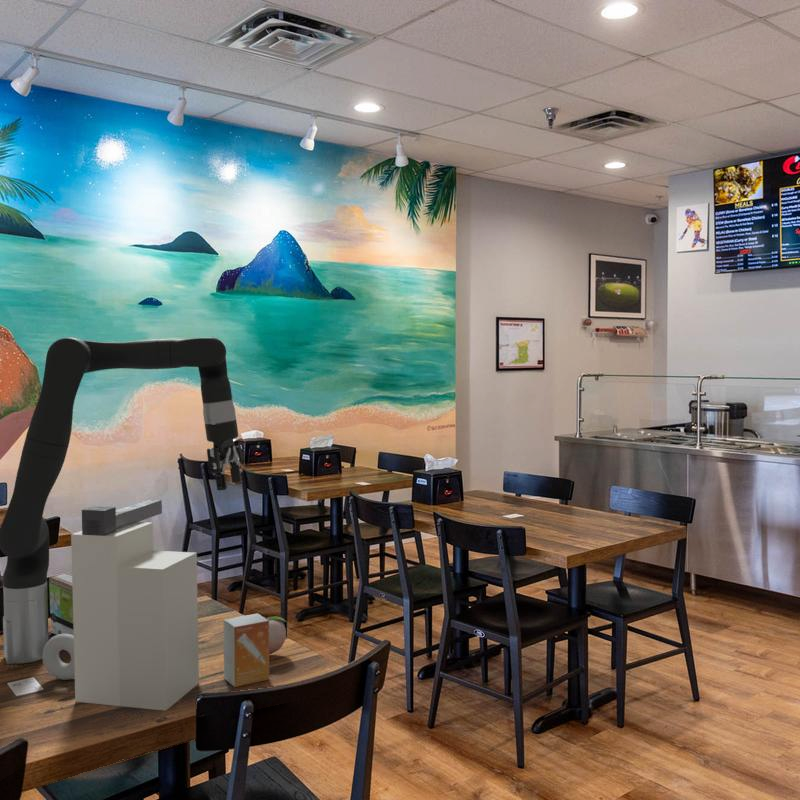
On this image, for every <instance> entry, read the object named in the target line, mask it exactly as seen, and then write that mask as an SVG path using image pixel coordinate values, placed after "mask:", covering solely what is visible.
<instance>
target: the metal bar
mask: <svg viewBox="0 0 800 800" xmlns="http://www.w3.org/2000/svg"><path fill="white" fill-rule="evenodd" d="M116 508H117V507H116V506H98V505H96V506H90V507H86V508H83V509H81V531H82V535H96V536H106V535H109V534H111V533H114V532H116V530H117V529H120V528H123V527H126V526H128V525H131V524H134V523H137V522H143V521H144V520H148V519H150V518H152V517H156V516H159V515H161V514H163V501H162V499H147V500H144V501H141V502H138V503H135V504H132V505H129V506H125V507H122V508H120V509H116Z"/></svg>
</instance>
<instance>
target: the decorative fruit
mask: <svg viewBox="0 0 800 800" xmlns="http://www.w3.org/2000/svg"><path fill="white" fill-rule="evenodd" d="M265 618H266V619H267V620H269V656H270V655H273V654H275V653H276V652H278V651H279V650H280V649H281V648H282V647H283V645H284V643H285V641H286V639H287V631H286V627H285V624H284V623H287V621H286V620H285V619H284V618H283V617H281V616H274V615H273V616H270V617H268V613H265ZM283 622H284V623H283Z"/></svg>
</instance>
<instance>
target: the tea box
mask: <svg viewBox="0 0 800 800" xmlns="http://www.w3.org/2000/svg"><path fill="white" fill-rule="evenodd" d="M48 587H49V589H48V590H49V612H50V632H51V631H52V632H51V634H54V635H55V636H56V635H58V634H65V633H66V634H71V635H74V627H73V589H72V571H71V572H68V573H63V574H58V575H54V576H49V577H48Z"/></svg>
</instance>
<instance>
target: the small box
mask: <svg viewBox="0 0 800 800" xmlns="http://www.w3.org/2000/svg"><path fill="white" fill-rule="evenodd" d="M222 622H223V623H222V624H223V629H222V630H223V631H222V632H223V676H224V677H223V679H225V680H226V681H227V682H228V683H229V684H230V685H232V686H233V687H234V688H237V687H242V686H246V685H250V684H254V683H258V682H264V681H269V680H270V655H269V620H267V619H266V617H265V616H262V615H261V614H259V613H253V614H247V615H246V614H245V615H239V616H236V617H231V618H226V619H223V621H222ZM268 679H269V680H268Z"/></svg>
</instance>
